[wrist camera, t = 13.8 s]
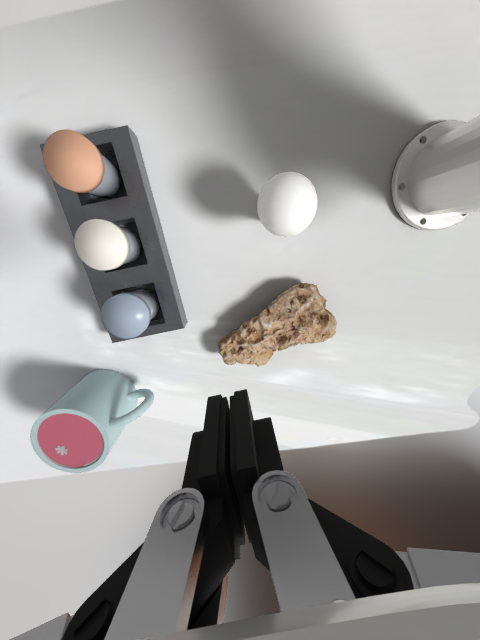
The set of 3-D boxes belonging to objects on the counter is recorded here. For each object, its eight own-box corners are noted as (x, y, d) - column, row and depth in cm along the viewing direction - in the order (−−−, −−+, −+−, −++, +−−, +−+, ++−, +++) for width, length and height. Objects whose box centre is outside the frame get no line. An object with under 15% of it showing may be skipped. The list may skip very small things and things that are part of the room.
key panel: (136, 136, 31) (127, 125, 28) (187, 321, 38) (183, 328, 35) (57, 154, 31) (39, 144, 28) (121, 335, 38) (112, 342, 35)
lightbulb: (241, 216, 34) (247, 202, 23) (273, 178, 33) (294, 146, 22) (274, 248, 35) (293, 248, 25) (305, 213, 34) (340, 198, 24)
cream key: (136, 220, 32) (115, 214, 26) (149, 262, 33) (131, 265, 27) (96, 229, 32) (66, 224, 26) (110, 270, 34) (85, 274, 28)
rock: (254, 396, 38) (211, 356, 34) (248, 374, 43) (210, 336, 38) (351, 332, 35) (317, 279, 31) (334, 316, 40) (303, 267, 35)
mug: (94, 427, 42) (53, 480, 32) (67, 378, 39) (15, 420, 30) (173, 404, 41) (156, 452, 32) (151, 354, 39) (126, 389, 29)
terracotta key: (115, 148, 30) (87, 124, 24) (129, 196, 31) (106, 184, 25) (72, 158, 30) (33, 136, 24) (88, 205, 31) (55, 195, 25)
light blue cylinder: (155, 282, 34) (139, 290, 28) (166, 319, 36) (153, 333, 30) (117, 290, 34) (94, 299, 28) (130, 326, 36) (110, 342, 30)
